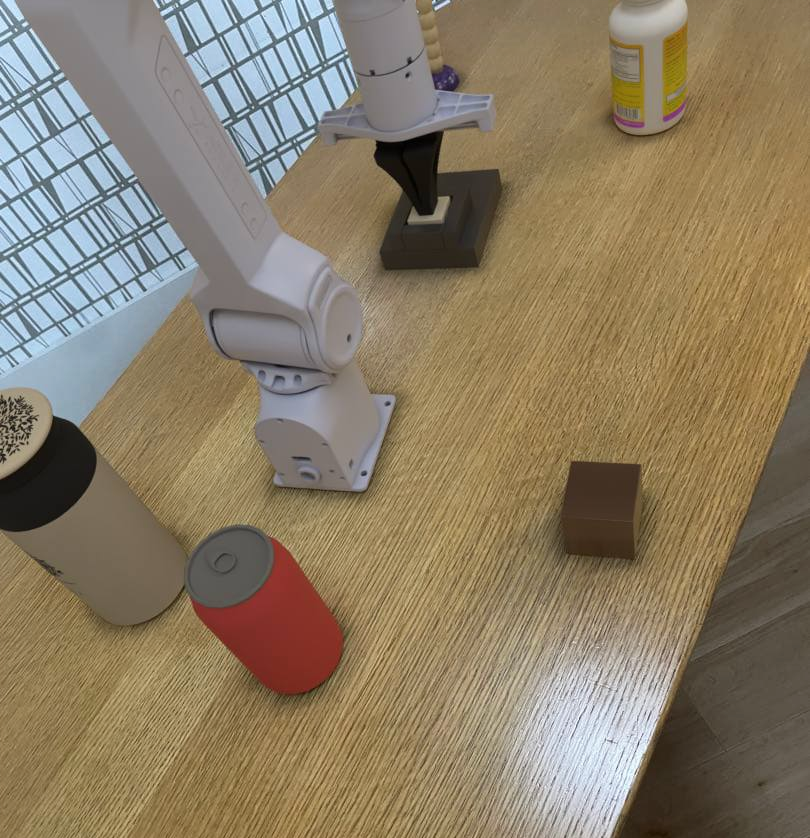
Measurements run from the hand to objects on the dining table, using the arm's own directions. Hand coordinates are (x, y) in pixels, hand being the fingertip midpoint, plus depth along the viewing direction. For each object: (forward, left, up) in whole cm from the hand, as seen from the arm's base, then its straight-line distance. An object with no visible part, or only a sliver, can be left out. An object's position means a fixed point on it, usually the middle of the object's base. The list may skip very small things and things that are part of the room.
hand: (428, 208), depth 74 cm
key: (0, 0, -2) cm, 2 cm away
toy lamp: (+26, +6, -4) cm, 28 cm away
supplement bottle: (+17, -17, -4) cm, 25 cm away
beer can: (-42, 0, -4) cm, 42 cm away
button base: (+2, 0, -4) cm, 5 cm away
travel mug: (-38, +15, -4) cm, 41 cm away
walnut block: (-30, -19, -4) cm, 35 cm away
